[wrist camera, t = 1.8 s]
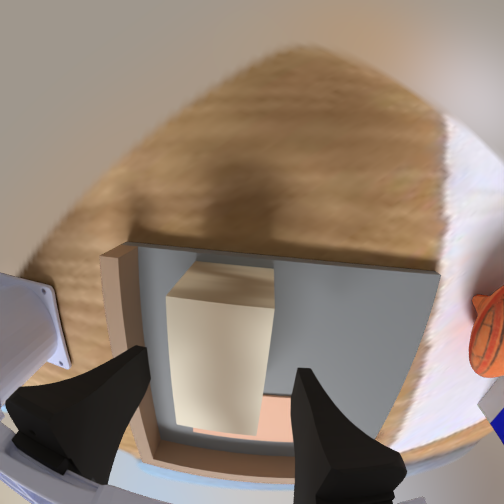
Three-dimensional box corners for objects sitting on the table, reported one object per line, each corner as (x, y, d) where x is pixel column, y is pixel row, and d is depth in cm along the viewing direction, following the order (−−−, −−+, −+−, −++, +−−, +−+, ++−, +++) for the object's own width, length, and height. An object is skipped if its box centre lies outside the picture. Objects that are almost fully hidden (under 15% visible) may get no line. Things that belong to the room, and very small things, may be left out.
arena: (152, 437, 22) (142, 462, 19) (126, 241, 17) (99, 255, 14) (360, 454, 21) (366, 479, 18) (435, 271, 16) (461, 289, 13)
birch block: (195, 372, 18) (176, 424, 13) (195, 260, 16) (165, 296, 11) (260, 380, 18) (256, 435, 13) (274, 268, 16) (274, 308, 11)
